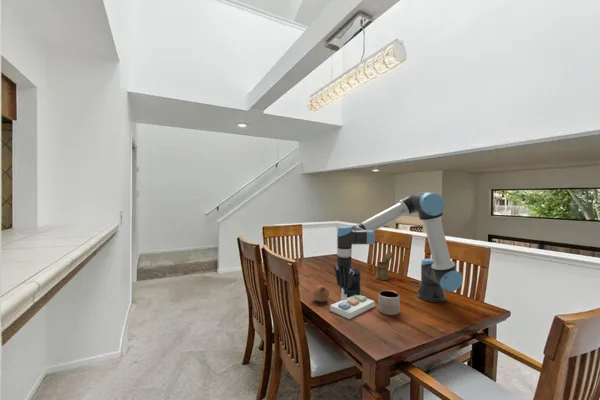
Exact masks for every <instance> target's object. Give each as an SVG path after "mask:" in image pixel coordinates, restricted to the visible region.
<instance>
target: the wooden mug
mask: <svg viewBox="0 0 600 400" xmlns="http://www.w3.org/2000/svg"><path fill="white" fill-rule="evenodd" d="M392 258H393V252H391V251H390V252H387V253H386V254H385V256H384V261H377V263H376V267H377V268H376V274H375V279H376V280H381V281H387V280H388V279H389V274H388V269H389V261H390V260H391V259H392Z"/></svg>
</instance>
